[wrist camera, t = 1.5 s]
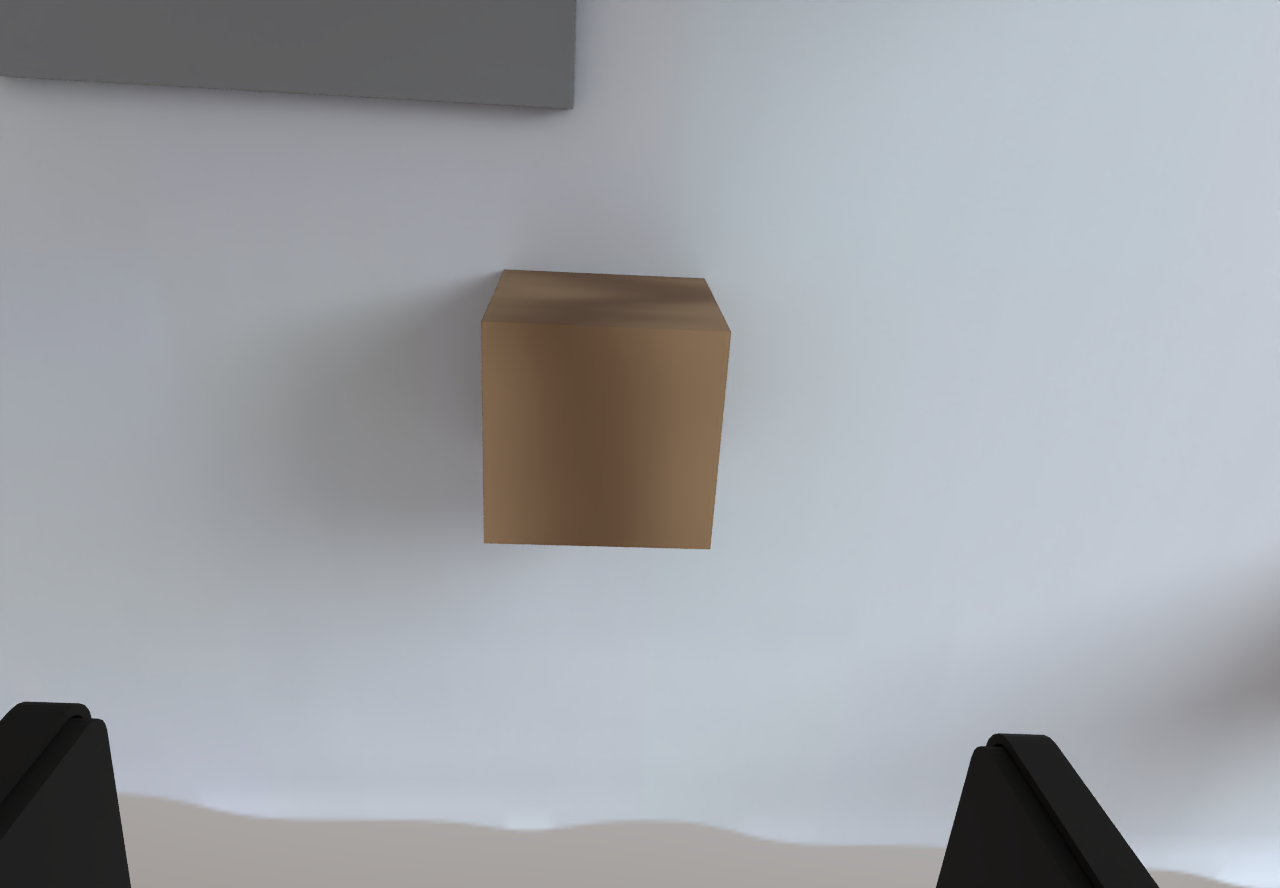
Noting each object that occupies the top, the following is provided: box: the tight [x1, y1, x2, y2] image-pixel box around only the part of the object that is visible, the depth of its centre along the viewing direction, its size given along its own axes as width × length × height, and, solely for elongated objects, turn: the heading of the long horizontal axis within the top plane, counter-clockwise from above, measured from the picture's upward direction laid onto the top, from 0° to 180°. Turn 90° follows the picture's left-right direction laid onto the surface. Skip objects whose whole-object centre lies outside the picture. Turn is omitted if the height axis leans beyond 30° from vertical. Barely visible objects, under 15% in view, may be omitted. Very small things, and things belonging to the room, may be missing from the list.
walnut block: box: [481, 270, 731, 549], centre depth 24 cm, size 6×6×6 cm
